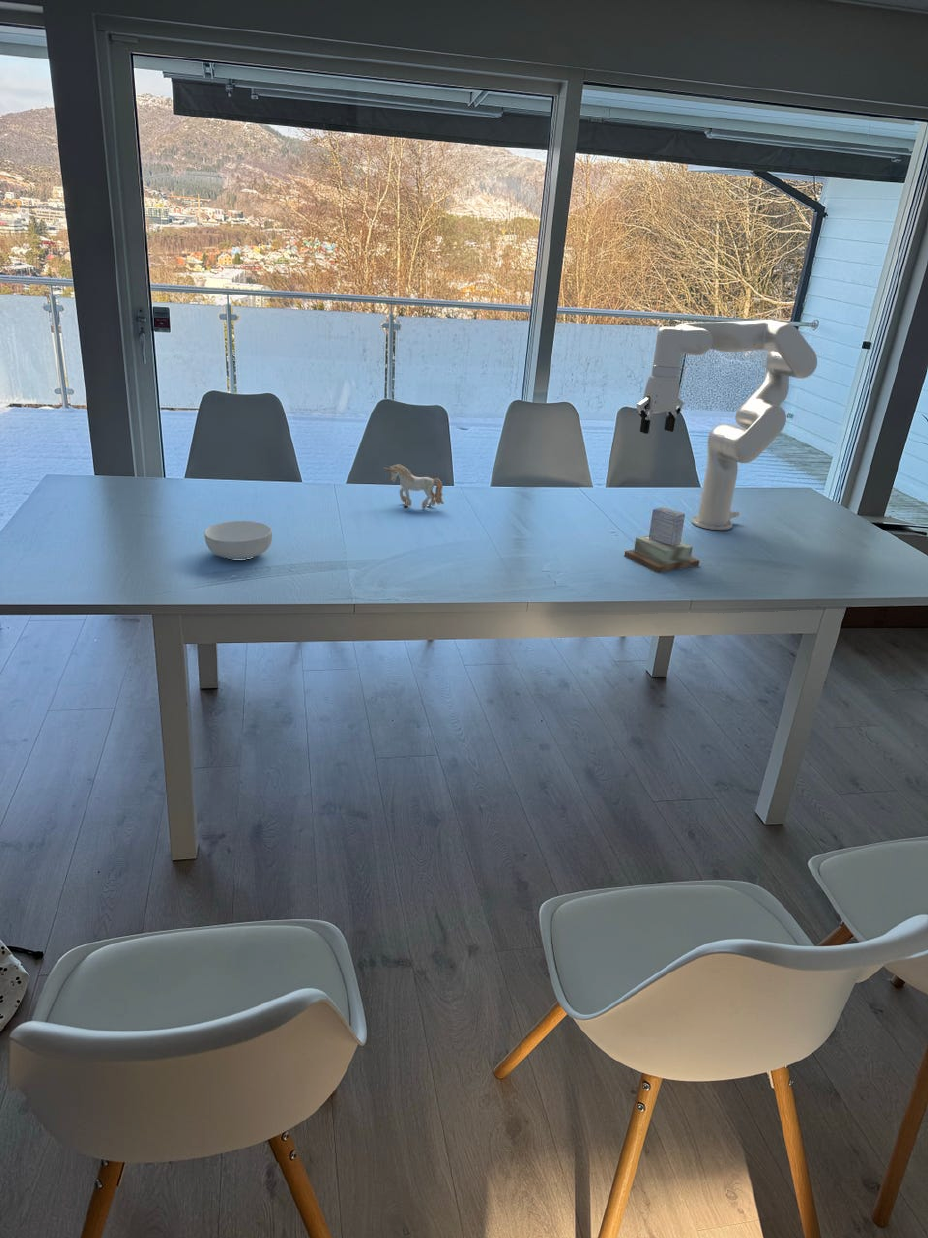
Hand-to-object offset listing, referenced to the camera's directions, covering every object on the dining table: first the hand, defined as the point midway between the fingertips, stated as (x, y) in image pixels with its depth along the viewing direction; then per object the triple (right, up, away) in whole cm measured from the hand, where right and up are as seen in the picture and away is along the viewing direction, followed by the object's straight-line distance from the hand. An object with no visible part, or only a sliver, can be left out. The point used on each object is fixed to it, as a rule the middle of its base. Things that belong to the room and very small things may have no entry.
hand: (656, 431), depth 260 cm
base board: (-1, -39, -12) cm, 41 cm away
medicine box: (-1, -34, -14) cm, 37 cm away
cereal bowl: (-115, -39, -29) cm, 125 cm away
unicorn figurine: (-73, -21, +18) cm, 78 cm away
